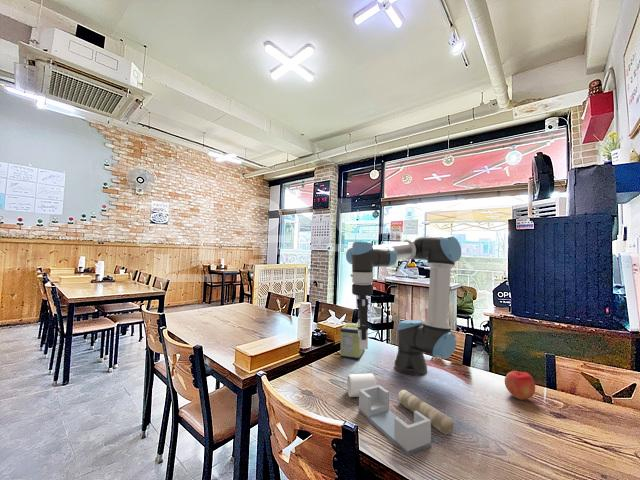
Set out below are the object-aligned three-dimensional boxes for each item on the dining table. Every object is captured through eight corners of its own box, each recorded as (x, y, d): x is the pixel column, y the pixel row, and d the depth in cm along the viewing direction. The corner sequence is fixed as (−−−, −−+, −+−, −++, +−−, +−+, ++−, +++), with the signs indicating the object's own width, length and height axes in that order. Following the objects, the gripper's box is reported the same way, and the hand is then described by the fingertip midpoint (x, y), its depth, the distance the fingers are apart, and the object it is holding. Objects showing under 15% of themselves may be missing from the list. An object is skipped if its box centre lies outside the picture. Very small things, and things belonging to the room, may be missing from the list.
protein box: (364, 351, 161) (364, 323, 162) (359, 361, 146) (359, 330, 147) (346, 348, 165) (347, 321, 165) (340, 358, 150) (340, 328, 151)
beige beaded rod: (397, 404, 105) (397, 391, 105) (407, 401, 107) (407, 388, 108) (442, 436, 87) (441, 420, 87) (453, 432, 89) (453, 415, 90)
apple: (531, 395, 113) (531, 369, 113) (538, 407, 104) (537, 379, 105) (503, 390, 117) (502, 365, 117) (507, 401, 108) (506, 374, 109)
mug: (376, 400, 108) (376, 378, 109) (351, 401, 107) (351, 379, 107) (367, 385, 120) (367, 366, 120) (344, 386, 119) (344, 367, 119)
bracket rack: (379, 405, 104) (379, 385, 104) (430, 446, 82) (430, 420, 83) (358, 411, 100) (359, 390, 100) (407, 456, 78) (407, 428, 79)
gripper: (351, 279, 116) (351, 332, 115) (352, 287, 91) (352, 354, 91) (370, 280, 115) (370, 332, 115) (376, 288, 91) (376, 355, 90)
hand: (362, 342), depth 103 cm, fingers open, 13 cm apart
